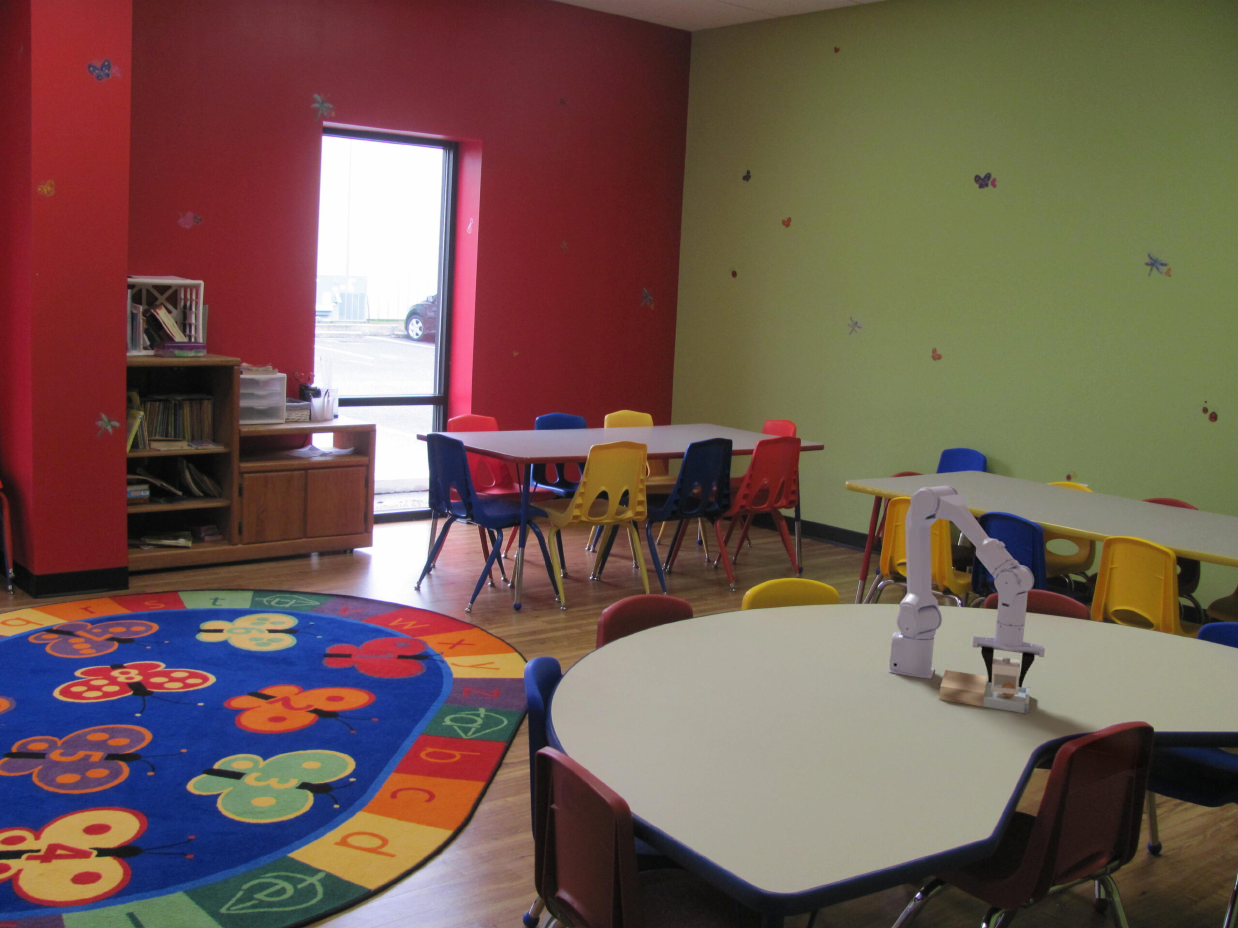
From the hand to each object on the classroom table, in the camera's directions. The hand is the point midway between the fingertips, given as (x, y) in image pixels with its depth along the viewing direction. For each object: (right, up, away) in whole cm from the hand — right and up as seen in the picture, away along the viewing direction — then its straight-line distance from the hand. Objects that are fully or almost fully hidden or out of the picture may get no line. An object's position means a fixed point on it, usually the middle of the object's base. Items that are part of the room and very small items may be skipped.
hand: (1005, 683), depth 234 cm
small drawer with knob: (0, -1, 0) cm, 1 cm away
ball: (+1, -1, 0) cm, 2 cm away
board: (-8, -3, +4) cm, 9 cm away
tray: (0, -4, 0) cm, 4 cm away
